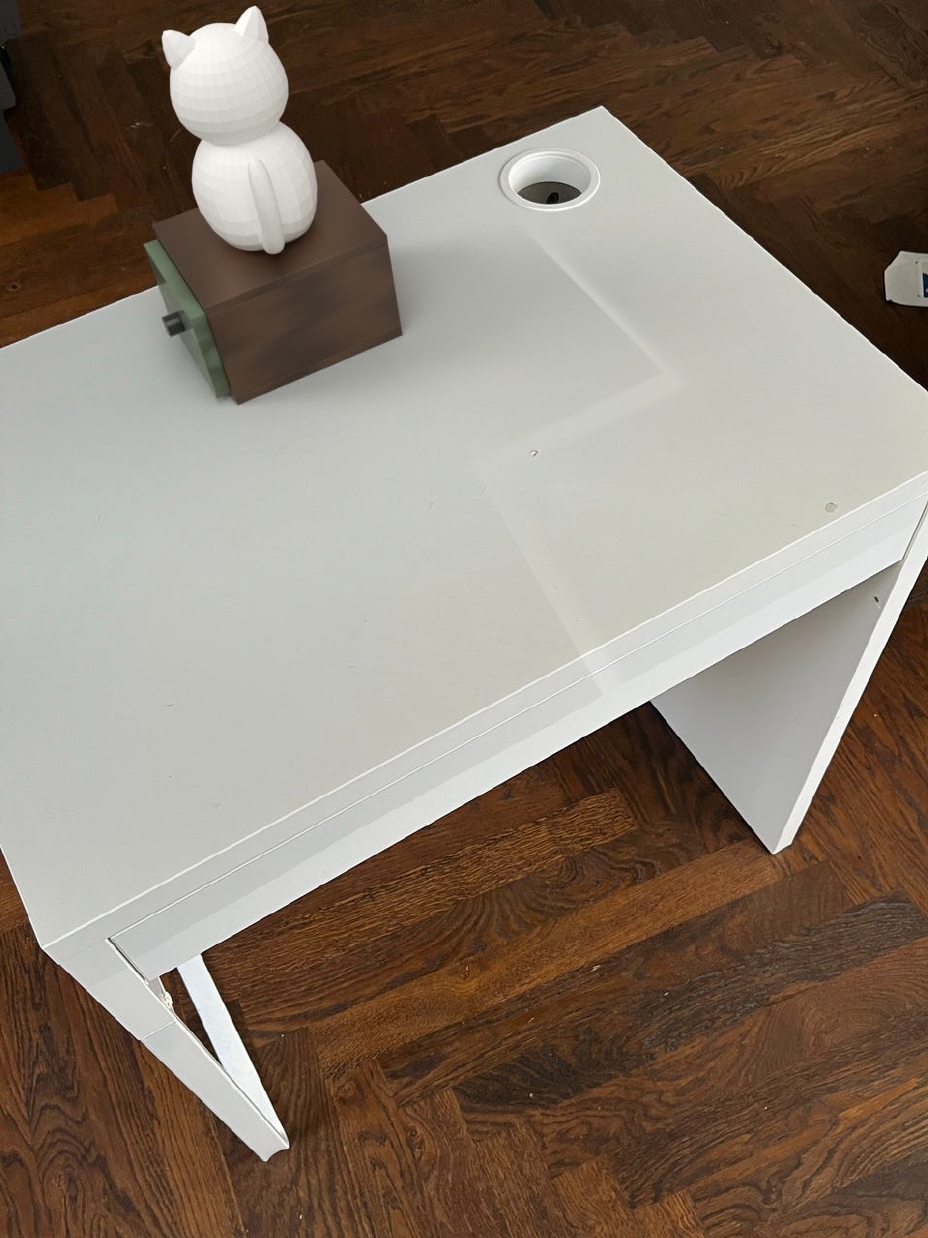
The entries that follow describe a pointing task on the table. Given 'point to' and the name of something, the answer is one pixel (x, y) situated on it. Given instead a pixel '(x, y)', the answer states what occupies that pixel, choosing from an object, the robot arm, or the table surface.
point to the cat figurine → (241, 134)
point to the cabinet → (290, 291)
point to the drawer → (187, 318)
